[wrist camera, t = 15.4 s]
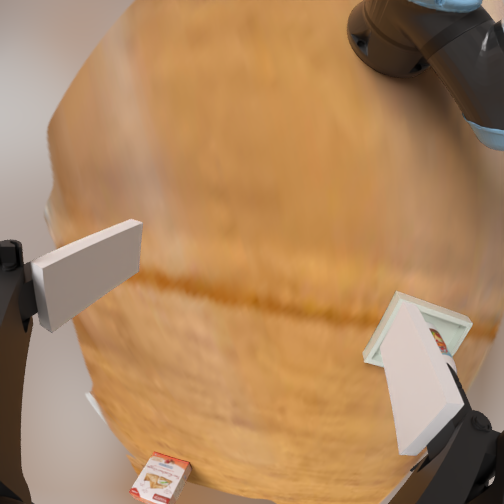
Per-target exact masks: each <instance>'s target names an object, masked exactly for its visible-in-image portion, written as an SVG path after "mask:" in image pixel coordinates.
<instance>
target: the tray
mask: <svg viewBox="0 0 504 504" xmlns="http://www.w3.org/2000/svg"><path fill="white" fill-rule="evenodd" d="M403 301H405V302H408V303H412V304H415V305H417V307H418V309H419V311H420V313H421V314H422V316H423V318H424V320H425V322H429V323H431V324H433V325H434V326H435V327H436V329H437V330H438V332H439V334H440V335H441V337H442V339H443V341H444V343H445V344H446V346H447V348H448V350H449V352H450V354H451V356H452V357H453V355H454V354H455V352H456V351H457V349H458V348H459V346H460V345H461V343H462V342H463V340H464V338H465V337H466V335H467V333H468V332H469V330H470V328H471V327H472V325H473V323H472V322H471V320H470V319H469V318H468V316H465V315H463V314H460V313H457V312H454V311H452V310H449V309H446V308H443V307H440V306H438V305H435V304H432V303H429V302H427V301H424V300H421V299H418V298H415V297H413V296H410V295H407V294H404V293H401V292H398V291H396V292H395V294H394V296H393V298H392V300H391V302H390V304H389V306H388V308H387V309H386V311H385V313H384V315H383V317H382V319H381V321H380V323H379V325H378V326H377V328H376V330H375V332H374V334H373V335H372V337H371V339H370V341H369V342H368V344H367V346H366V348H365V349H364V351H363V358H364V362H366V363H370V364H373V365H377V366H381V367H384V364H383V360H382V356H381V351H380V346H381V344H382V342H383V340H384V338H385V336H386V334H387V332H388V331H389V329H390V327H391V325H392V323H393V321H394V319H395V317H396V315H397V313H398V311H399V308H400V306H401V304H402V302H403Z"/></svg>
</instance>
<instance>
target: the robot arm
mask: <svg viewBox="0 0 504 504" xmlns="http://www.w3.org/2000/svg"><path fill="white" fill-rule="evenodd" d="M481 4H482V0H363V1H362V2H360V3H359V4H358V5H357V6H356V7H355V8H354V9H353V10H352V12H351V13H350V16H349V19H348V24H347V35H348V39H349V42H350V44H351V46H352V48H353V50H354V51H355V53H356V54H357V55H358V56H359V57H360V59H361V60H363V61H364V62H365V63H366V64H367V65H369V66H370V67H371V68H373V69H375V70H376V71H378V72H380V73H383V74H385V75H388V76H392V77H397V78H409V77H414V76H417V75H419V74H421V73H422V72H424V71H425V70H426V69H427V68H429V67H430V65H431V67H432V68H433V69H434V71H435V72H436V73H437V75H438V76H439V78H440V79H441V80H442V82H443V83H444V85H445V86H446V88H447V89H448V91H449V92H450V94H451V95H452V97H453V98H454V100H455V101H456V103H457V104H458V106H459V108H460V109H461V111H462V115H463V117H464V119H465V120H466V121H467V122H468V123H469V124H470V126H471V128H472V129H473V131H474V133H475V135H476V136H477V138H478V139H479V141H480V142H481V143H483V144H484V145H485V146H487V147H488V148H491V149H494V150H498V151H504V18H503V19H502V20H500V21H499V22H497V23H495V21H494V20H493V19H492V18H491V16H490V15H489V14H488V13H487V12H486V10H485V9H484V8H483V7H482V5H481ZM142 228H143V222H139V221H136V220H133V219H130V220H127V221H125V222H122V223H119V224H117V225H114V226H112V227H109V228H107V229H104V230H102V231H99V232H97V233H94V234H92V235H89V236H87V237H84V238H82V239H80V240H77V241H75V242H73V243H70V244H68V245H66V246H63V247H61V248H59V249H57V250H54V251H52V252H50V253H48V254H46V255H43V256H41V257H39V258H37V259H35V260H32V261H30V262H28V263H26V264H24V262H23V252H22V244H21V242H19V241H17V240H4V241H0V504H34V503H32V502H31V496H30V492H29V488H28V485H27V483H26V481H25V479H24V477H23V473H22V467H21V408H22V393H23V384H24V375H25V367H26V360H27V353H28V347H29V342H30V337H31V332H32V326H33V318H32V316H33V315H34V314H36V313H37V312H38V317H39V322H40V325H41V326H42V327H44V328H46V329H47V330H48V331H50V332H51V333H53V332H54V331H55V330H57V329H58V328H59V327H61V326H62V325H63V324H65V323H66V322H68V321H69V320H70V319H72V318H73V317H74V316H76V315H77V314H79V313H80V312H81V311H83V310H84V309H86V308H87V307H88V306H90V305H91V304H93V303H94V302H95V301H97V300H98V299H100V298H101V297H102V296H104V295H105V294H107V293H108V292H110V291H111V290H112V289H114V288H115V287H117V286H118V285H120V284H121V283H123V282H124V281H126V280H127V279H128V278H130V277H131V276H133V275H134V274H136V273H137V272H139V263H140V250H141V239H142ZM380 351H381V356H382V360H383V364H384V369H385V374H386V378H387V383H388V388H389V393H390V399H391V404H392V410H393V416H394V422H395V428H396V435H397V442H398V449H399V455H414V456H416V455H417V454H419V453H420V452H421V451H422V450H423V449H424V448H425V447H426V446H427V450H428V455H426V456H425V457H424V458H423V459H422V460H421V461H420V462H419V463H418V464H416V465H415V466H414V467H413V468H412V469H411V470H410V471H411V472H412V471H413V470H414V472H413V473H412V474H411V476H410V477H409V478H408V480H407V481H406V483H405V484H404V485H403V486H402V487H401V489H400V490H399V491H398V492H397V494H396V495H395V496H394V497H393V498H392V500H391V501H390V502H389V503H388V504H504V431H503V432H502V433H499V432H496V431H494V430H492V427H491V423H490V421H489V420H488V418H487V417H486V416H484V414H482V413H481V412H479V411H475V410H472V409H471V406H470V404H469V402H468V399H467V397H466V394H465V392H464V390H463V389H462V385H461V383H460V382H459V379H458V376H457V374H456V372H455V371H454V370H453V368H452V367H451V366H450V365H449V364H448V363H446V361H445V359H444V357H443V355H442V353H441V351H440V349H439V347H438V345H437V343H436V341H435V339H434V337H433V335H432V333H431V331H430V329H429V327H428V326H427V324H426V322H425V320H424V318H423V316H422V314H421V313H420V311H419V309H418V307H417V305H415V304H412V303H408V302H405V301H403V302H402V304H401V306H400V308H399V311H398V313H397V315H396V317H395V319H394V321H393V323H392V325H391V327H390V329H389V331H388V332H387V334H386V336H385V338H384V340H383V342H382V344H381V346H380ZM494 476H495V478H494V481H493V483H492V484H491V485H489V486H488V484H489V480H490V479H491V478H492V477H494Z"/></svg>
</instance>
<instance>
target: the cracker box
mask: <svg viewBox="0 0 504 504" xmlns="http://www.w3.org/2000/svg"><path fill="white" fill-rule="evenodd" d="M191 470H192V468H191V466H190V464H189V462H186V461H182V460H179V459H176V458H172V457H169V456H166V455H163V454H160V453H157V452H154V453H153V454H152V456H151V458H150V459H149V461H148V462H147V464H146V466H145V467H144V469H143V470H142V472H141V474H140V475H139V477H138V478H137V480H136V482H135V483H134V485H133V486H132V488H131V490H130V491H129V493H130V494H131V495H132V496H133V497H134V498H135V499H137V500H139V501H142V502H144V503H146V504H175V503H176V501H177V499H178V497H179V495H180V493H181V491H182V488H183V487H184V485H185V483H186V481H187V479H188V476H189V474H190V472H191Z"/></svg>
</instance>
